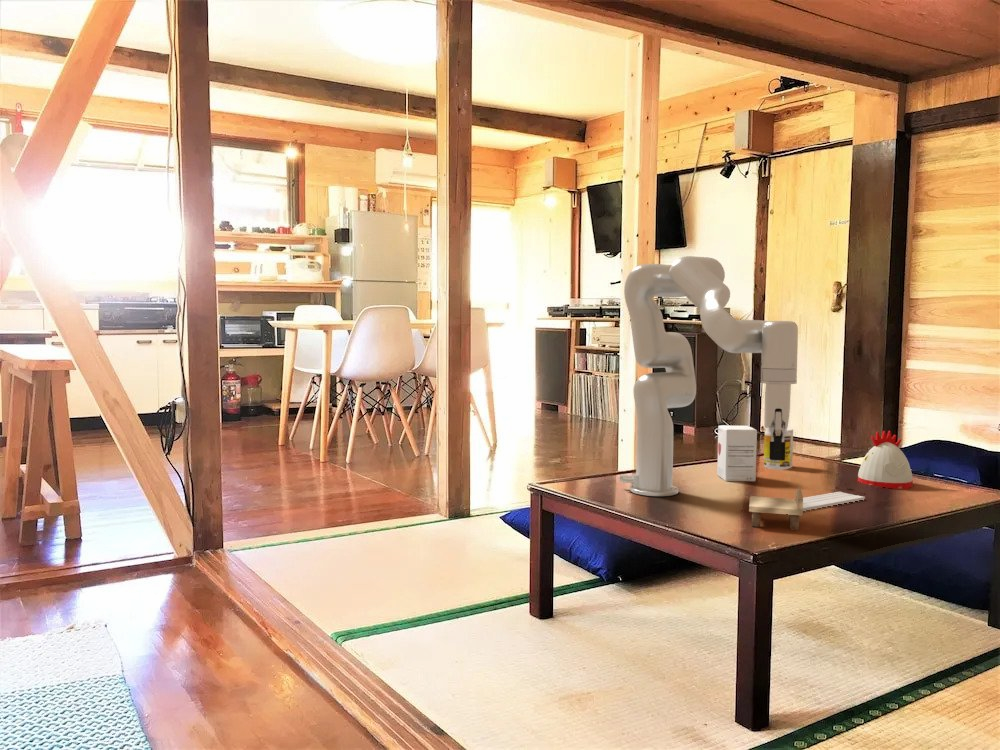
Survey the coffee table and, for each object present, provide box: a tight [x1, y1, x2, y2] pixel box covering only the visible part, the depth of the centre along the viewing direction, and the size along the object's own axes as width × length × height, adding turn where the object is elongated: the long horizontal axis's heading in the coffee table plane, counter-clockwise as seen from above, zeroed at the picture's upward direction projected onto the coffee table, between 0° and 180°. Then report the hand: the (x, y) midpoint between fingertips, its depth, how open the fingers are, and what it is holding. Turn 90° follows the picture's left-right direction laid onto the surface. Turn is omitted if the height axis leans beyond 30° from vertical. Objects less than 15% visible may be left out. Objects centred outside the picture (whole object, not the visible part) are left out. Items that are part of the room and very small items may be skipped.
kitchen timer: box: [857, 430, 914, 490], centre depth 225 cm, size 14×14×15 cm
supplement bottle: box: [763, 425, 791, 471], centre depth 178 cm, size 6×6×10 cm
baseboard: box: [803, 486, 866, 512], centre depth 200 cm, size 30×3×10 cm
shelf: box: [748, 488, 804, 531], centre depth 179 cm, size 11×11×7 cm
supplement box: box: [716, 424, 758, 482], centre depth 232 cm, size 9×9×15 cm
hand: (776, 456), depth 179 cm, fingers closed on supplement bottle, 5 cm apart
